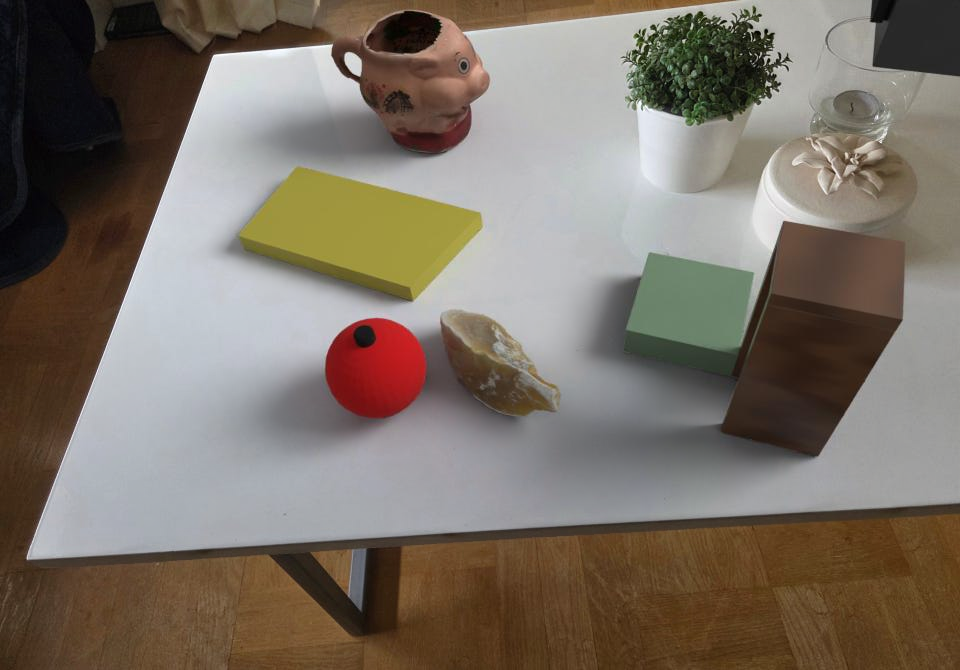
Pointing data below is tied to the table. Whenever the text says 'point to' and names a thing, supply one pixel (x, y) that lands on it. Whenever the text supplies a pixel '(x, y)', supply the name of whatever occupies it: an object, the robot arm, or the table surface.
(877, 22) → the robot arm
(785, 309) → the tall brown wooden block
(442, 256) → the flat olive board
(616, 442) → the table surface
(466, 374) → the stone
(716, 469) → the table surface
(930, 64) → the block
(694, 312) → the sage green square slab
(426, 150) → the face mug
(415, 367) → the ornament
